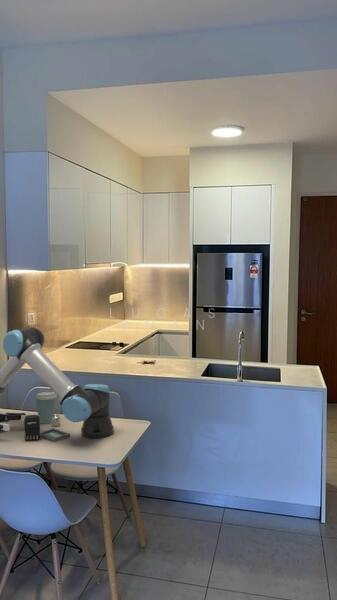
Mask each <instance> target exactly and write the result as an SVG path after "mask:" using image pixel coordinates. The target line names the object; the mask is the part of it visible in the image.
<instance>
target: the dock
mask: <svg viewBox="0 0 337 600" xmlns="http://www.w3.org/2000/svg"><path fill="white" fill-rule="evenodd" d="M70 437H71V433H69V432H66V431H65V430H60V429H57V428H56V427H52V428H50V429H47V430H43V431H40V438H41V439H44V440H47V441H50V442H53V443H55V442H58V441H61V440H64V439H68V438H70Z"/></svg>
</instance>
